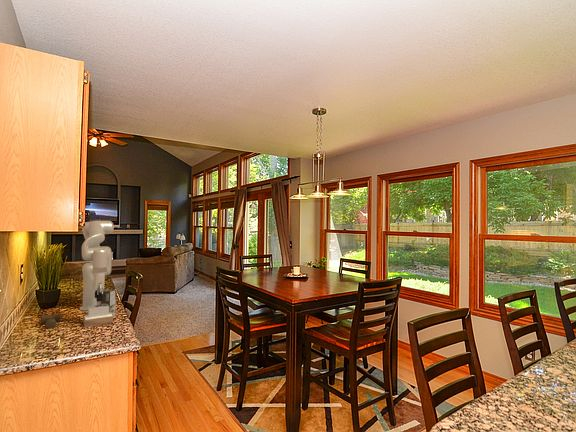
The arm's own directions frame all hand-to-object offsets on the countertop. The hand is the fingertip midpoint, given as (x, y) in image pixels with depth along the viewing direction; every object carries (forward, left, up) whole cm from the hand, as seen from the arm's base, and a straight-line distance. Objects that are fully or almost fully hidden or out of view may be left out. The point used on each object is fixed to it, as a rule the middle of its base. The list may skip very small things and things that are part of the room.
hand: (98, 299), depth 189 cm
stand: (+1, 0, -14) cm, 14 cm away
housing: (+1, 0, -9) cm, 9 cm away
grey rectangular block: (-12, -22, -14) cm, 29 cm away
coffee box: (-14, +6, -14) cm, 21 cm away
